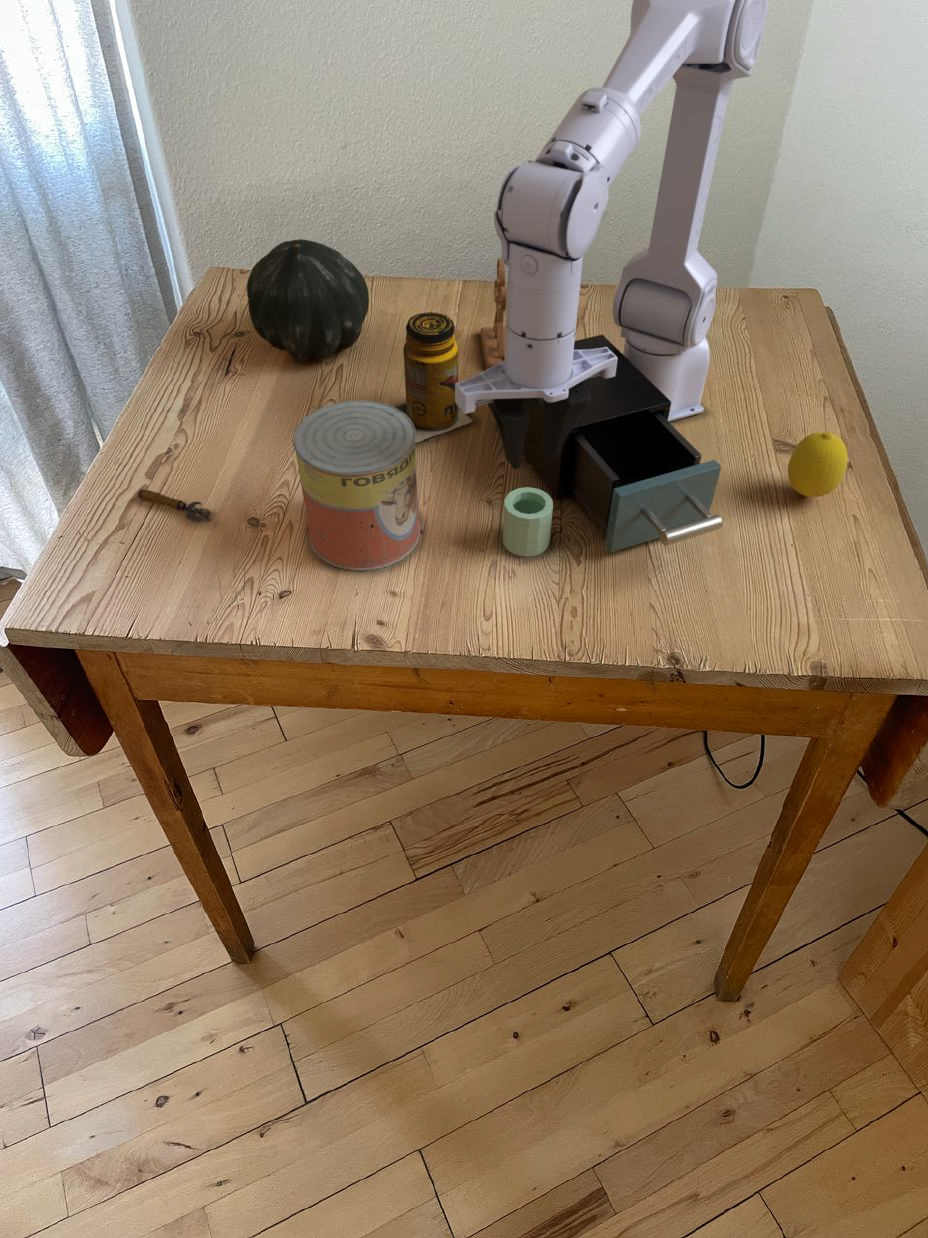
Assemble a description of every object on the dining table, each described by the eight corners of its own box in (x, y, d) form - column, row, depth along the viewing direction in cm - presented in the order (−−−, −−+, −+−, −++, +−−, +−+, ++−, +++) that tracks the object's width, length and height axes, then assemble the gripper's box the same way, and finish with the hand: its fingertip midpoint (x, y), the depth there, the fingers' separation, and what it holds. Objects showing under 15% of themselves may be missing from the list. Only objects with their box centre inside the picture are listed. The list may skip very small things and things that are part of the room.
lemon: (834, 485, 97) (858, 423, 91) (831, 517, 94) (856, 454, 88) (782, 474, 98) (802, 412, 93) (777, 506, 95) (797, 443, 89)
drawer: (735, 553, 89) (752, 496, 83) (636, 585, 86) (647, 528, 80) (638, 449, 100) (648, 393, 95) (548, 474, 97) (553, 418, 92)
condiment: (473, 422, 105) (474, 327, 96) (410, 446, 102) (405, 350, 93) (439, 392, 109) (437, 299, 100) (378, 414, 106) (370, 320, 97)
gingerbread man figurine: (480, 333, 118) (481, 243, 110) (509, 332, 119) (513, 242, 110) (486, 370, 112) (488, 278, 103) (517, 369, 113) (522, 277, 104)
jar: (536, 520, 93) (539, 482, 90) (557, 549, 90) (561, 511, 87) (494, 532, 92) (496, 494, 88) (515, 562, 89) (517, 524, 85)
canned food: (377, 586, 87) (367, 488, 78) (286, 544, 91) (267, 446, 82) (441, 520, 93) (439, 423, 84) (353, 483, 97) (342, 387, 88)
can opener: (138, 500, 95) (135, 492, 94) (153, 488, 96) (150, 479, 96) (206, 528, 92) (203, 519, 91) (220, 515, 94) (218, 506, 93)
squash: (318, 257, 121) (253, 198, 107) (406, 294, 116) (349, 236, 102) (271, 353, 122) (201, 307, 108) (356, 394, 117) (293, 351, 103)
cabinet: (657, 471, 99) (671, 401, 92) (557, 500, 95) (563, 430, 89) (593, 401, 108) (602, 334, 101) (499, 426, 104) (502, 357, 98)
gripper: (479, 365, 69) (477, 503, 79) (643, 327, 73) (621, 462, 83) (444, 322, 73) (446, 457, 83) (600, 288, 77) (585, 421, 87)
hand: (531, 457), depth 84 cm, fingers open, 3 cm apart
